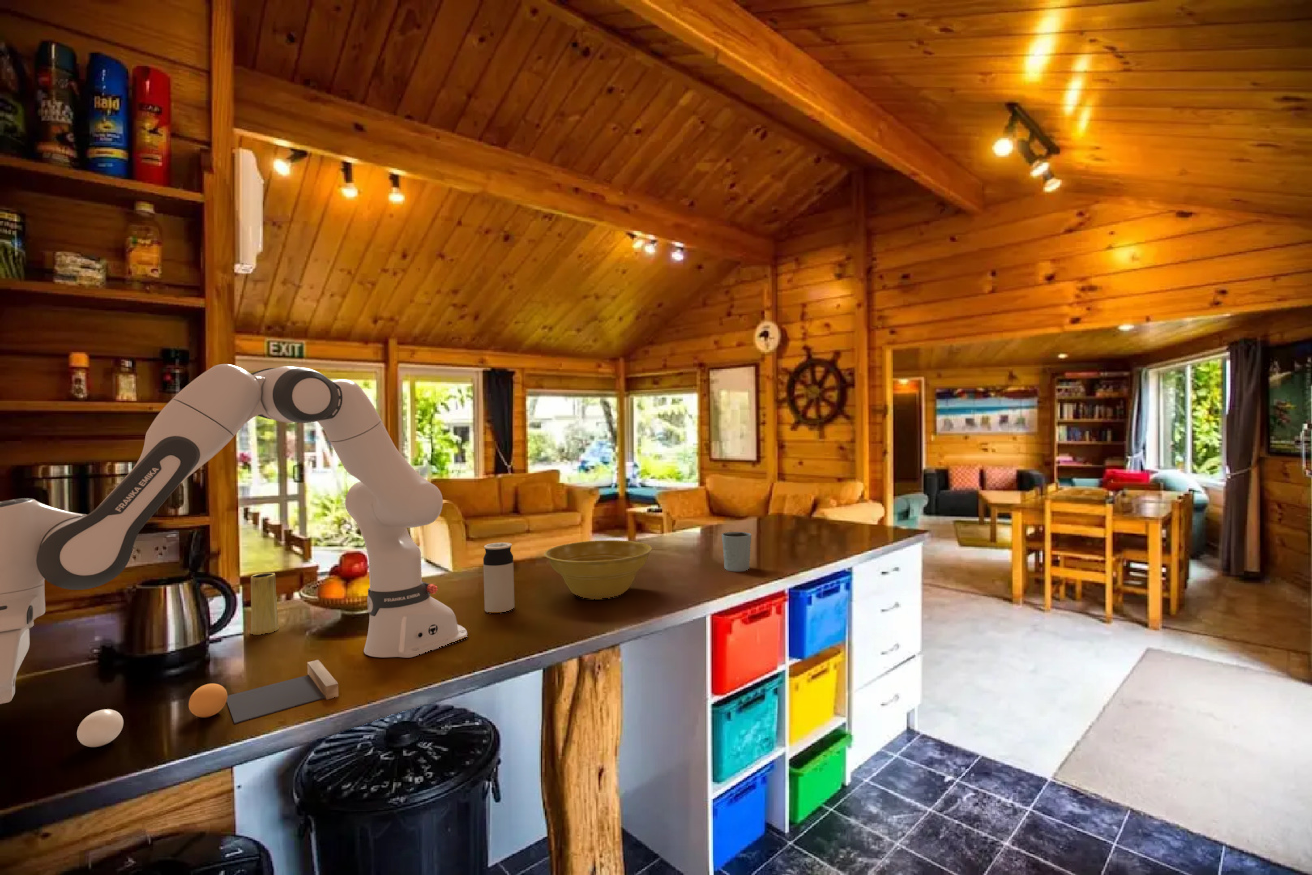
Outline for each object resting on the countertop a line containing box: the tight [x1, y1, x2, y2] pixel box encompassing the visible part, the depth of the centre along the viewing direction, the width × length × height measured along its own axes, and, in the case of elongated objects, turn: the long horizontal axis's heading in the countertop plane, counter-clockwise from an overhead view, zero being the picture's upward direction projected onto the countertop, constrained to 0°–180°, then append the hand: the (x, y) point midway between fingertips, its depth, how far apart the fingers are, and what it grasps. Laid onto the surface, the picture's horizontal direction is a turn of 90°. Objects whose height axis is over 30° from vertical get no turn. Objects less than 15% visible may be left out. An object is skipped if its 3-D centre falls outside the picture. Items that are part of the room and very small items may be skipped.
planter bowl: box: [543, 539, 653, 600], centre depth 178 cm, size 32×32×13 cm
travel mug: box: [482, 542, 515, 613], centre depth 164 cm, size 8×8×18 cm
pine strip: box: [306, 659, 339, 701], centre depth 117 cm, size 2×16×2 cm, turn 41°
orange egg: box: [188, 683, 228, 718], centre depth 106 cm, size 6×6×6 cm
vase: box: [250, 572, 280, 636], centre depth 151 cm, size 6×6×14 cm
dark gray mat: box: [226, 674, 326, 725], centre depth 112 cm, size 14×14×1 cm
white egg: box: [76, 708, 124, 748], centre depth 96 cm, size 6×6×6 cm
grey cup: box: [721, 531, 752, 573], centre depth 206 cm, size 10×10×12 cm
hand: (4, 700), depth 89 cm, fingers closed
